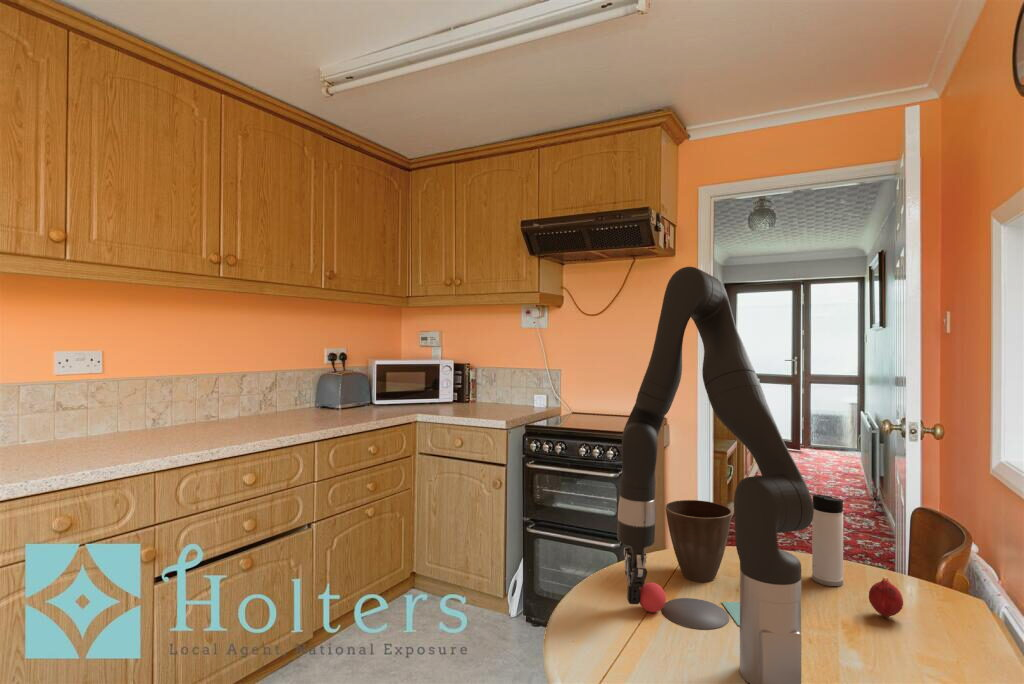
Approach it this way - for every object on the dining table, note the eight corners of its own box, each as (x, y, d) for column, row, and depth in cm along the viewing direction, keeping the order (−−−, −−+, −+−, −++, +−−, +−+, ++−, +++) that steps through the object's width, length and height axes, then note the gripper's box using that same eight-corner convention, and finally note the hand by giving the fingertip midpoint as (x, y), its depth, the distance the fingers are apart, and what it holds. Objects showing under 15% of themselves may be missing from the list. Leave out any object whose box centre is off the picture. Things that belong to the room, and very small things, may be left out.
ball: (648, 621, 114) (673, 607, 114) (633, 595, 115) (658, 581, 115) (645, 612, 119) (669, 599, 119) (631, 587, 121) (654, 574, 120)
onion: (908, 625, 111) (908, 584, 111) (876, 622, 112) (876, 582, 112) (895, 611, 117) (895, 573, 117) (864, 609, 118) (864, 570, 118)
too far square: (790, 627, 110) (790, 626, 110) (738, 626, 111) (738, 625, 111) (769, 603, 120) (769, 602, 120) (721, 602, 121) (721, 601, 121)
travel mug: (805, 578, 133) (805, 493, 133) (824, 574, 136) (824, 490, 136) (829, 589, 128) (830, 500, 127) (849, 584, 130) (849, 496, 130)
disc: (738, 630, 109) (738, 629, 109) (670, 628, 110) (670, 627, 110) (717, 599, 122) (717, 598, 122) (656, 598, 123) (656, 597, 123)
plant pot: (663, 584, 130) (663, 514, 130) (667, 560, 144) (667, 497, 144) (733, 593, 125) (733, 520, 125) (730, 567, 139) (730, 502, 139)
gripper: (662, 530, 110) (658, 619, 110) (648, 509, 123) (644, 589, 123) (623, 529, 110) (619, 617, 110) (613, 508, 123) (610, 587, 124)
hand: (633, 602), depth 117 cm, fingers closed
